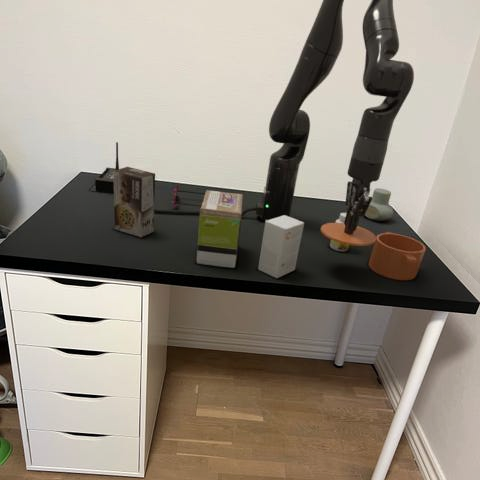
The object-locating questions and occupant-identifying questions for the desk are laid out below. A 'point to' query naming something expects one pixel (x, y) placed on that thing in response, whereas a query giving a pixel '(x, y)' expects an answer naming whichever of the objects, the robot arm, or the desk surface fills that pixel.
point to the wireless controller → (107, 178)
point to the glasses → (178, 197)
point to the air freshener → (379, 206)
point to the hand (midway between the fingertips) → (349, 227)
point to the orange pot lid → (348, 234)
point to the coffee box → (134, 201)
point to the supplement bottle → (337, 245)
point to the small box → (280, 245)
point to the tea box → (219, 229)
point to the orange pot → (396, 256)
